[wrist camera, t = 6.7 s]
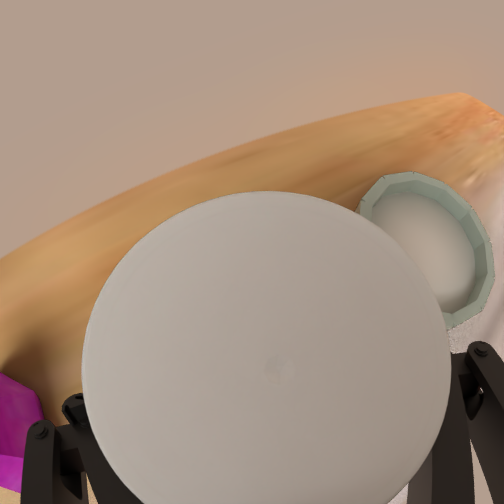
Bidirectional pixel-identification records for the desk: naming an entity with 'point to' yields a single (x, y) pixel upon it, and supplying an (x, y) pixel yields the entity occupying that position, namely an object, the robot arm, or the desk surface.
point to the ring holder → (436, 239)
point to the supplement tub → (266, 357)
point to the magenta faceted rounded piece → (15, 428)
